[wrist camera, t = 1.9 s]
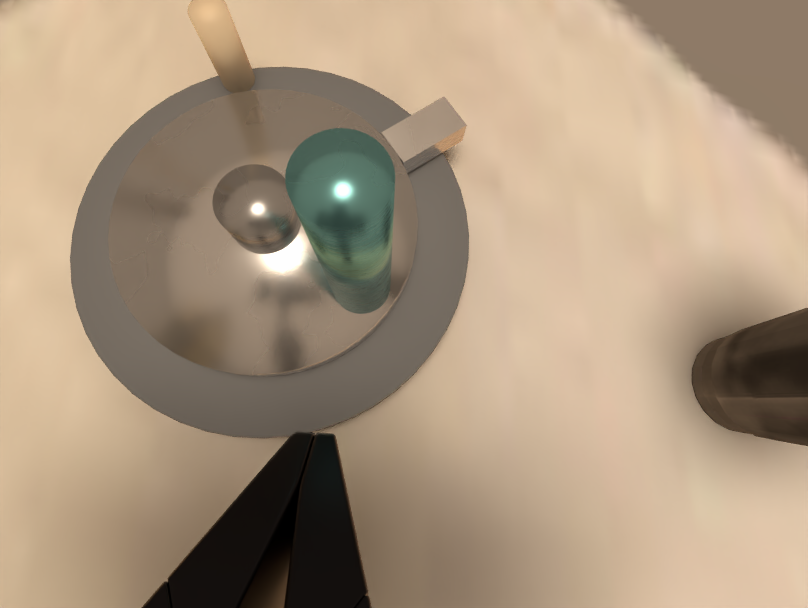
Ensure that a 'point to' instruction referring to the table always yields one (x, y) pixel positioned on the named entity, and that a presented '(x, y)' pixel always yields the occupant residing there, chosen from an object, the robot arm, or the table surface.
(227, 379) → the turntable base
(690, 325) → the table surface
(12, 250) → the table surface
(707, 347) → the beverage cup
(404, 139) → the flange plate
